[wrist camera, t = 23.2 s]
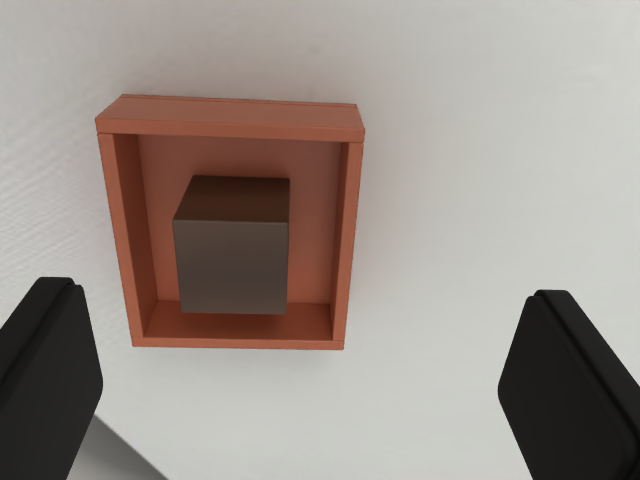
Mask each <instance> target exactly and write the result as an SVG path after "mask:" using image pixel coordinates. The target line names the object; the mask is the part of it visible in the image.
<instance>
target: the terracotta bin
mask: <svg viewBox="0 0 640 480" xmlns="http://www.w3.org/2000/svg"><path fill="white" fill-rule="evenodd" d="M95 123H96V129H97V132H98V133H97V136H98V142H99V148H100V154H101V160H102V166H103V172H104V178H105V184H106V190H107V196H108V202H109V208H110V214H111V220H112V226H113V232H114V239H115V245H116V251H117V257H118V263H119V269H120V275H121V281H122V287H123V293H124V299H125V305H126V311H127V317H128V323H129V329H130V335H131V340H132V346H133V347H181V348H241V349H302V350H343V349H344V339H345V330H346V320H347V310H348V300H349V289H350V279H351V269H352V259H353V248H354V238H355V228H356V218H357V207H358V197H359V187H360V176H361V166H362V156H363V146H364V145H363V142H364V135H365V128H364V125H363V123H362V120H361V117H360V114H359V111H358V108H357V105H356V104H335V103H312V102H288V101H265V100H241V99H218V98H195V97H171V96H148V95H124V94H123V95H121V96H120V97H119V98H118V99H117V100H115V101H114V102H113V103H112V104H111V105H110V106H108V107H107V108H106V109H105V110H104V111H103V112H101V113H100V114H99V115H98V116H97V117H96V118H95ZM193 175H203V176H232V177H260V178H288V179H290V214H289V253H288V283H287V310H286V314H236V313H186V312H181V306H180V296H179V286H178V276H177V266H176V256H175V247H174V237H173V227H172V219H173V217H174V215H175V213H176V211H177V208H178V206H179V204H180V202H181V200H182V198H183V195H184V193H185V191H186V189H187V187H188V184H189V182H190V180H191V178H192V176H193Z"/></svg>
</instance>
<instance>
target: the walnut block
mask: <svg viewBox="0 0 640 480" xmlns="http://www.w3.org/2000/svg"><path fill="white" fill-rule="evenodd" d="M289 214H290V179H288V178H260V177H232V176H203V175H193V176H192V178H191V180H190V182H189V184H188V187H187V189H186V191H185V193H184V195H183V198H182V200H181V202H180V204H179V206H178V208H177V211H176V213H175V215H174V217H173V219H172V227H173V237H174V247H175V256H176V266H177V276H178V286H179V296H180V306H181V312H186V313H236V314H286V310H287V283H288V253H289Z"/></svg>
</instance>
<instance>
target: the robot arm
mask: <svg viewBox="0 0 640 480" xmlns="http://www.w3.org/2000/svg"><path fill="white" fill-rule="evenodd" d="M102 390H103V377H102V373H101V368H100V363H99V359H98V354H97V349H96V345H95V340H94V336H93V331H92V326H91V322H90V317H89V312H88V308H87V303H86V298H85V294H84V290H83V287H82V286H81V285H75V283H74V281H73V279H72V278H69V277H40V278H38V279H37V280H36V282H35V283H34V284H33V286H32V287H31V288H30V290H29V291H28V292H27V294H26V295H25V297H24V298H23V299H22V301H21V302H20V303H19V305H18V306H17V307H16V309H15V310H14V311H13V313H12V314H11V316H10V317H9V318H8V320H7V321H6V322H5V324H4V325H3V326H2V328H1V329H0V480H66V479H67V476H68V474H69V471H70V469H71V467H72V464H73V462H74V459H75V457H76V455H77V452H78V450H79V448H80V445H81V443H82V440H83V438H84V436H85V433H86V431H87V429H88V426H89V424H90V421H91V419H92V417H93V414H94V412H95V409H96V407H97V405H98V402H99V400H100V397H101V394H102ZM498 397H499V401H500V404H501V406H502V408H503V411H504V413H505V415H506V418H507V420H508V422H509V425H510V427H511V429H512V432H513V434H514V436H515V439H516V441H517V443H518V446H519V448H520V450H521V453H522V455H523V457H524V460H525V462H526V464H527V467H528V469H529V471H530V474H531V476H532V478H533V480H640V386H639V385H638V384H637V382H636V381H635V380H634V378H633V377H632V376H631V374H630V373H629V372H628V370H627V369H626V368H625V366H624V365H623V364H622V362H621V361H620V360H619V358H618V357H617V356H616V354H615V353H614V352H613V350H612V349H611V348H610V346H609V345H608V344H607V342H606V341H605V340H604V338H603V337H602V336H601V334H600V333H599V332H598V330H597V329H596V328H595V326H594V325H593V324H592V322H591V321H590V320H589V318H588V317H587V316H586V314H585V313H584V312H583V310H582V309H581V308H580V306H579V305H578V303H577V302H576V301H575V299H574V298H573V297H572V295H571V294H570V293H569V292H568V291H565V290H537V291H536V292H535V294H534V296H529V297H528V298H527V299H526V302H525V305H524V308H523V311H522V314H521V317H520V320H519V323H518V326H517V329H516V332H515V335H514V338H513V341H512V344H511V347H510V350H509V353H508V356H507V359H506V362H505V365H504V368H503V371H502V375H501V378H500V381H499V384H498Z"/></svg>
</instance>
